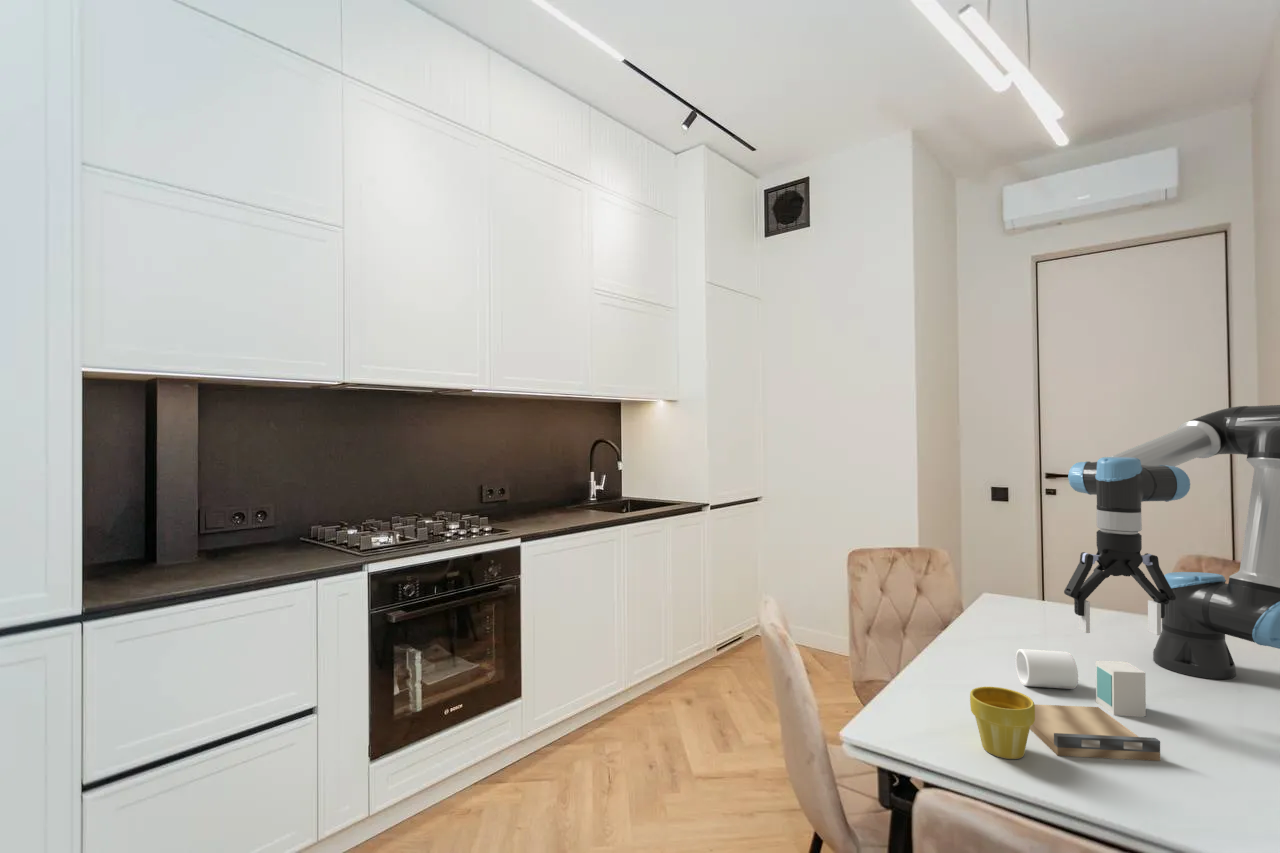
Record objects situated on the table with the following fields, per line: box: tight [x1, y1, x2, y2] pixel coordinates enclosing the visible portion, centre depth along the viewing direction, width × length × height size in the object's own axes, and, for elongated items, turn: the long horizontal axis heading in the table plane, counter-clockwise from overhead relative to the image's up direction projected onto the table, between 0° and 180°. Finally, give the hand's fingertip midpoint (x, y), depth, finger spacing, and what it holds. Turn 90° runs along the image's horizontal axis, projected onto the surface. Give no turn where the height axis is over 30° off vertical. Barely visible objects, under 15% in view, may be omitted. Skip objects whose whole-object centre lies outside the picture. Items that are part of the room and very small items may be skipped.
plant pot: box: [969, 686, 1035, 760], centre depth 115 cm, size 10×10×10 cm
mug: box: [1014, 648, 1079, 690], centre depth 145 cm, size 12×10×8 cm
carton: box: [1095, 660, 1147, 717], centre depth 131 cm, size 6×6×9 cm
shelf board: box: [1029, 703, 1161, 762], centre depth 120 cm, size 17×18×4 cm
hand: (1119, 632), depth 131 cm, fingers open, 13 cm apart
